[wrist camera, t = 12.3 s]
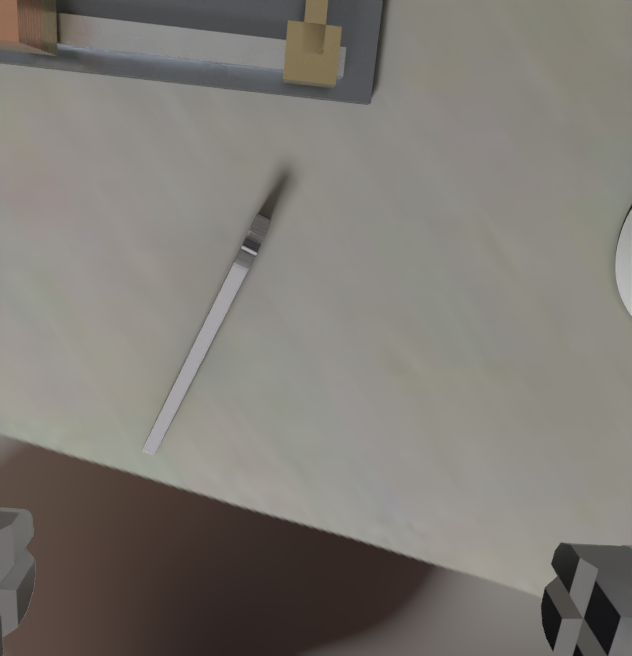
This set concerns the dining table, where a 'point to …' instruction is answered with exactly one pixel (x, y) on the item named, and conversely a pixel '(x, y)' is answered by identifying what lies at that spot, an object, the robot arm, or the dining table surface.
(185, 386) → the caliper
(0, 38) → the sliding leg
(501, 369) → the dining table surface
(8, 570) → the robot arm
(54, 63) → the bolt plate
